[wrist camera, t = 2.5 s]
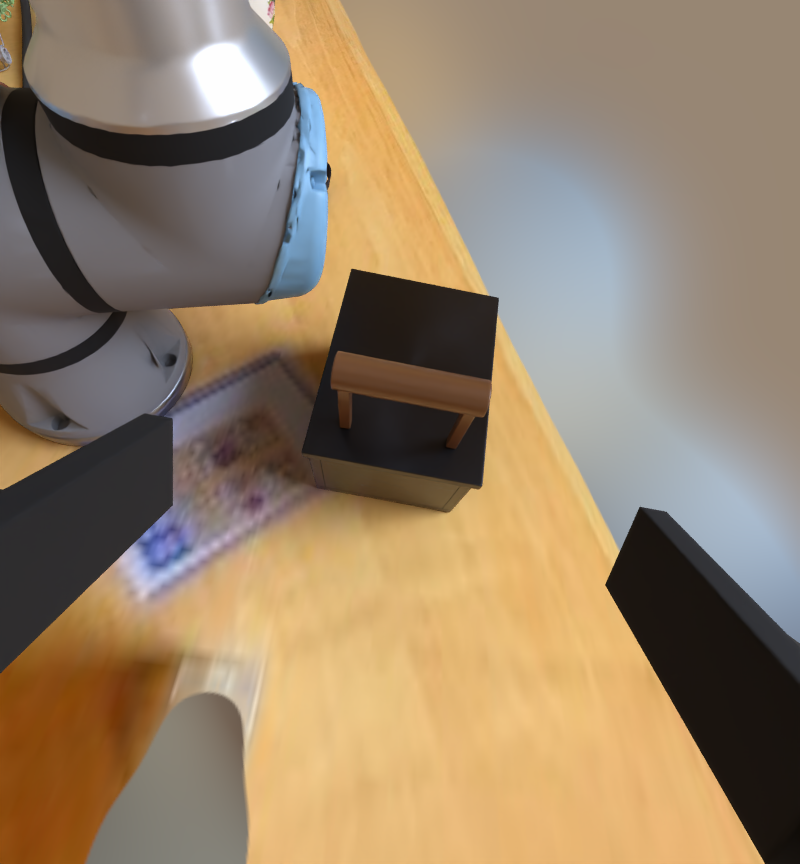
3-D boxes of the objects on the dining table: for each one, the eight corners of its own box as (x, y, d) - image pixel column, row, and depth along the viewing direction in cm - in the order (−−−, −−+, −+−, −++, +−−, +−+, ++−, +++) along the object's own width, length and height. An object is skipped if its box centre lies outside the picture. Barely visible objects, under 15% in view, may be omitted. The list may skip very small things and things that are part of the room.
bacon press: (479, 489, 29) (524, 441, 21) (302, 457, 28) (284, 396, 21) (496, 304, 35) (536, 215, 27) (351, 275, 35) (351, 178, 27)
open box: (449, 512, 38) (480, 478, 29) (316, 488, 38) (305, 445, 29) (466, 369, 44) (495, 304, 35) (351, 347, 44) (351, 276, 35)
